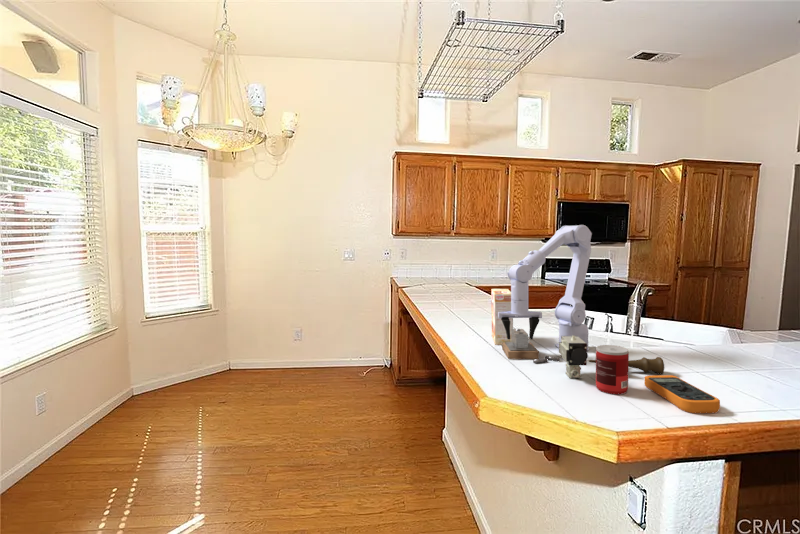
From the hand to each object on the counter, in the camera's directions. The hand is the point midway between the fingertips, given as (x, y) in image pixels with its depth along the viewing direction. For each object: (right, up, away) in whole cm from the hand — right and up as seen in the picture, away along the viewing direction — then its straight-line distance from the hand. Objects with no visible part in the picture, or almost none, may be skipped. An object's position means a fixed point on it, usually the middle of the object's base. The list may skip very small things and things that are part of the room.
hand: (519, 338), depth 144 cm
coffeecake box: (-1, -4, +20) cm, 20 cm away
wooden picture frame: (0, -5, 0) cm, 5 cm away
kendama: (+25, -7, -20) cm, 33 cm away
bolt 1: (+4, -6, -10) cm, 13 cm away
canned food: (+15, -8, -34) cm, 38 cm away
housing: (0, -3, 0) cm, 3 cm away
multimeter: (+28, -8, -41) cm, 50 cm away
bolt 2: (+9, -6, -7) cm, 13 cm away
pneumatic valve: (+8, -7, -23) cm, 26 cm away
